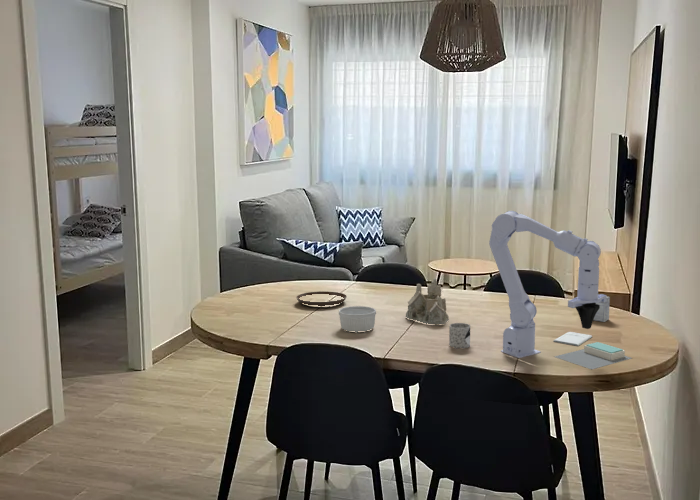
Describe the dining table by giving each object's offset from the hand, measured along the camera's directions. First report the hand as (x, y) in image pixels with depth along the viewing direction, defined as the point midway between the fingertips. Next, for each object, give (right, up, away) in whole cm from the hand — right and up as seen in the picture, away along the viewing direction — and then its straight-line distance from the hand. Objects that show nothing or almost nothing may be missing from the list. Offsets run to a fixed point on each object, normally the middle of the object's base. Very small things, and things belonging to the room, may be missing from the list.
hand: (586, 328), depth 202 cm
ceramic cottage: (-42, -3, +50) cm, 65 cm away
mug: (-34, -8, +20) cm, 40 cm away
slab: (+5, -8, +4) cm, 10 cm away
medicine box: (+20, -2, +46) cm, 50 cm away
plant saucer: (-82, +1, +78) cm, 113 cm away
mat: (+3, -10, +3) cm, 10 cm away
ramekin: (-67, -5, +40) cm, 78 cm away
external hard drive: (+3, -7, +21) cm, 23 cm away
